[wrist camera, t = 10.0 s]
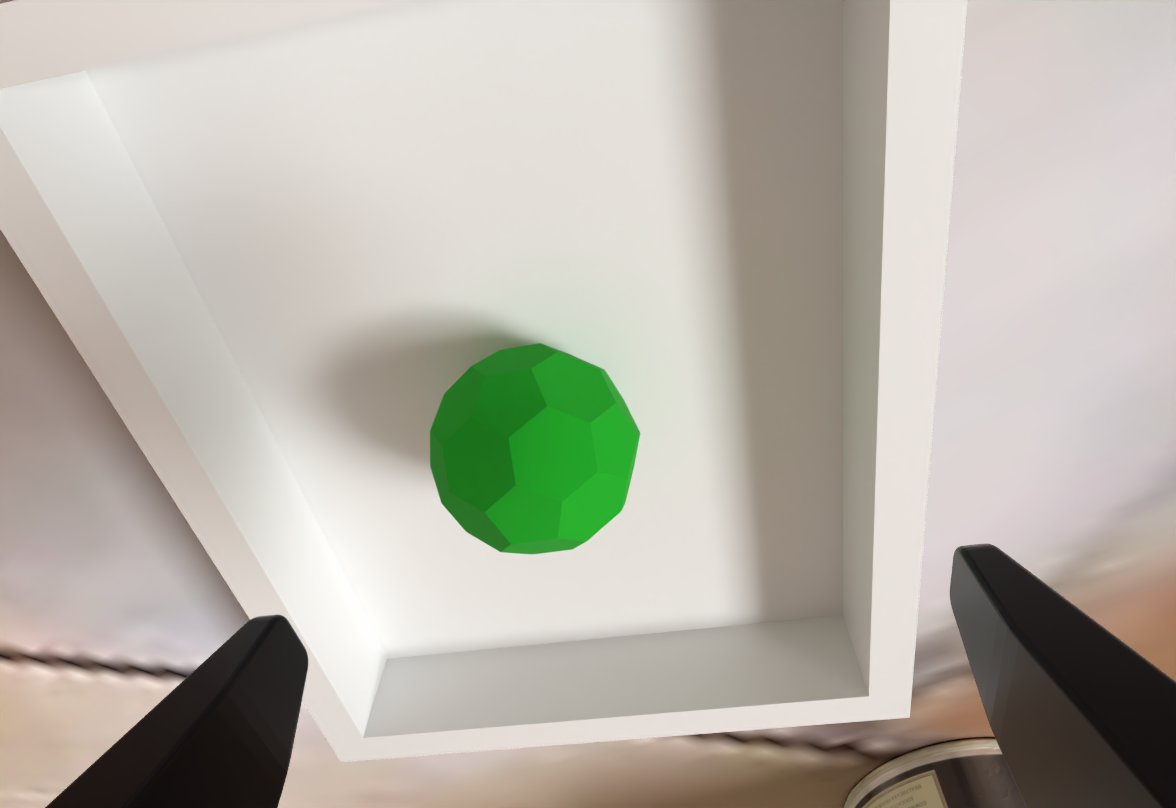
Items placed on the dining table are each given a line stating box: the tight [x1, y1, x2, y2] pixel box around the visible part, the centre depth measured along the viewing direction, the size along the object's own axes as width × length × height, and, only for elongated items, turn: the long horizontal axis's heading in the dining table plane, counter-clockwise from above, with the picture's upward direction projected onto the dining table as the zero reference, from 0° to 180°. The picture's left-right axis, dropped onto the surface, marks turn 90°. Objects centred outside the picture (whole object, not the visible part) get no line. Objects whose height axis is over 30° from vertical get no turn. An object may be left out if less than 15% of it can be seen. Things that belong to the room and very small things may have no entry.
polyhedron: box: [430, 343, 640, 554], centre depth 18 cm, size 5×5×5 cm
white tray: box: [0, 0, 967, 762], centre depth 19 cm, size 18×22×4 cm
